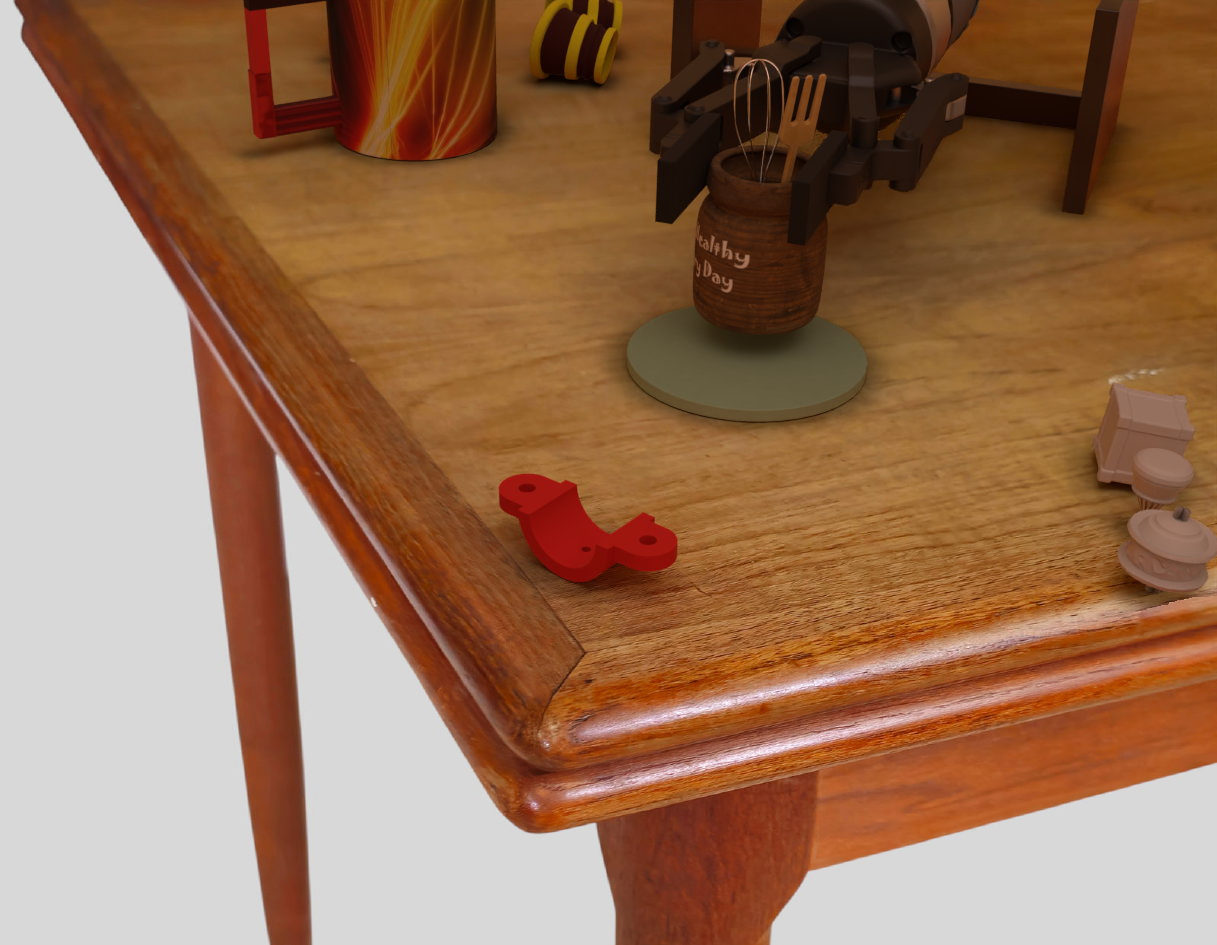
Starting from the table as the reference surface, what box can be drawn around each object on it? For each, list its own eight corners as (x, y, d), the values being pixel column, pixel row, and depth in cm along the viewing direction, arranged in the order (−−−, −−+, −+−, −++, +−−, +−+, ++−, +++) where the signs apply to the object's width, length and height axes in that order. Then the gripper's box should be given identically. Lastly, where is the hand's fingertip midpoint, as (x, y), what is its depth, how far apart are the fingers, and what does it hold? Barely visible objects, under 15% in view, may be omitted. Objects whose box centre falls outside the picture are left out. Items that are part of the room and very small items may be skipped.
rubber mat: (909, 401, 80) (910, 389, 80) (680, 438, 77) (680, 425, 77) (802, 301, 89) (804, 289, 89) (592, 331, 86) (592, 319, 85)
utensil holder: (785, 276, 87) (810, 24, 80) (844, 333, 82) (875, 69, 75) (671, 291, 85) (686, 34, 78) (723, 349, 80) (744, 81, 73)
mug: (250, 156, 104) (230, -61, 97) (404, 94, 113) (396, -108, 106) (379, 194, 99) (368, -30, 92) (529, 126, 109) (528, -82, 102)
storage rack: (739, 77, 117) (750, -101, 111) (1115, 127, 111) (1149, -58, 105) (667, 153, 105) (675, -41, 99) (1083, 214, 99) (1119, 11, 93)
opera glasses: (603, 104, 115) (620, 27, 112) (522, 85, 114) (537, 7, 112) (614, 57, 123) (630, -16, 120) (538, 38, 122) (552, -35, 120)
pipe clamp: (529, 464, 71) (530, 511, 72) (481, 493, 69) (483, 541, 70) (694, 534, 67) (692, 582, 68) (647, 567, 65) (646, 616, 66)
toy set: (1192, 389, 75) (1164, 466, 77) (1110, 374, 75) (1085, 451, 77) (1236, 542, 65) (1203, 625, 67) (1142, 524, 65) (1112, 607, 67)
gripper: (1027, 141, 93) (935, 322, 75) (691, 94, 98) (528, 253, 80) (1050, -8, 89) (959, 146, 71) (698, -49, 94) (528, 84, 75)
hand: (731, 202), depth 75 cm, fingers closed on utensil holder, 5 cm apart
